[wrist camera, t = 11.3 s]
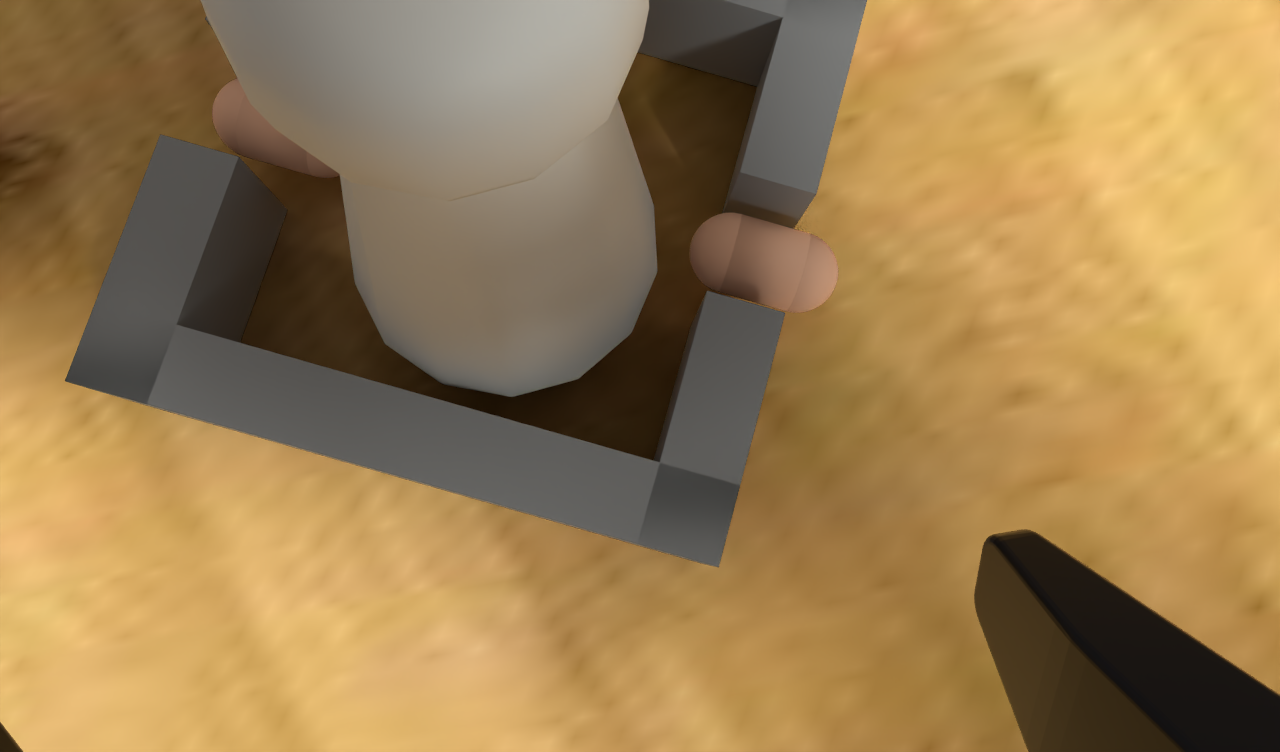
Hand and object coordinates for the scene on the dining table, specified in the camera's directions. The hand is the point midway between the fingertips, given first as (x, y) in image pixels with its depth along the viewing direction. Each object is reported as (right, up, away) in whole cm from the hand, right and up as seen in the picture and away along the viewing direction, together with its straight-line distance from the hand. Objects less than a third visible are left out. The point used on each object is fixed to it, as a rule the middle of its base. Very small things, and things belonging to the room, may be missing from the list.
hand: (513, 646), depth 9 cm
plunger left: (-6, +7, +11) cm, 15 cm away
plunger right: (+4, +5, +11) cm, 13 cm away
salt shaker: (-1, +5, +12) cm, 13 cm away
